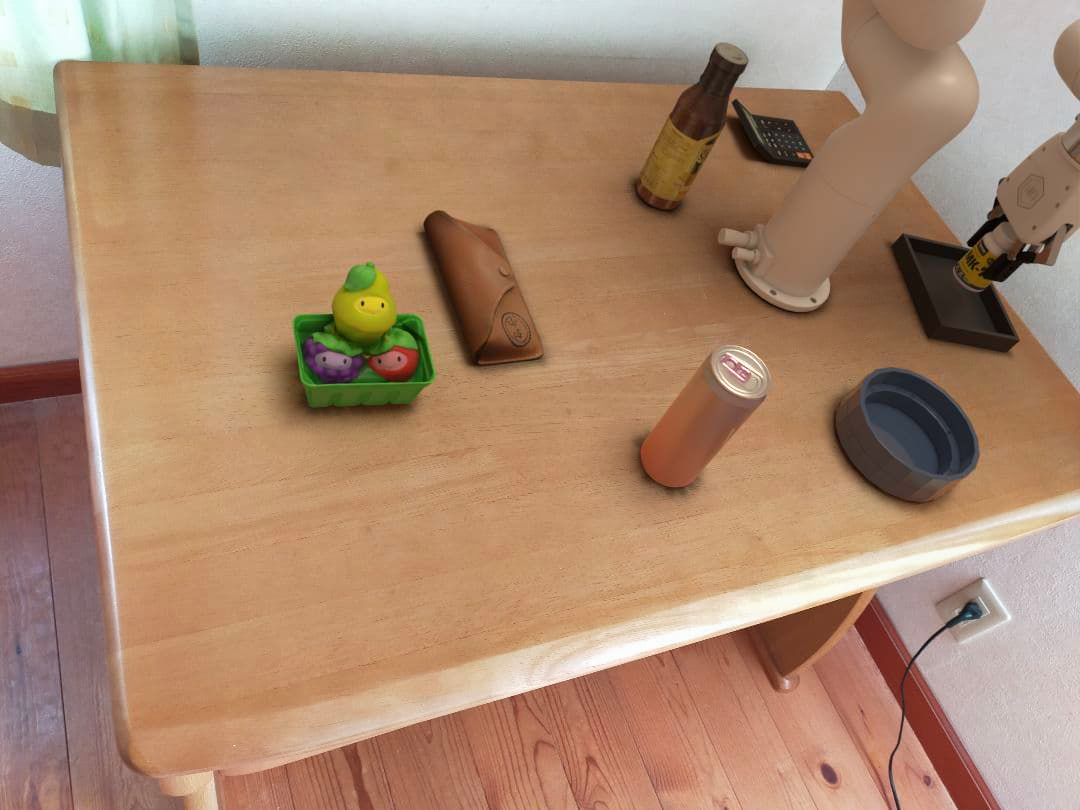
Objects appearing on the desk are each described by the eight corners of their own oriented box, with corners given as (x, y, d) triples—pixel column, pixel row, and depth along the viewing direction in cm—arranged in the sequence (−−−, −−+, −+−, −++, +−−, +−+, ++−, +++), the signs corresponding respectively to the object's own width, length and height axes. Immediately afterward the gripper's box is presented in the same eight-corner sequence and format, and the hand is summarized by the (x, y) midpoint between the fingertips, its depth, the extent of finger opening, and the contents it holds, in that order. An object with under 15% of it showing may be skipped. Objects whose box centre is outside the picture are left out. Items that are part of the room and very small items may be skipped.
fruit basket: (295, 421, 74) (310, 338, 66) (284, 339, 79) (296, 251, 70) (425, 415, 79) (455, 337, 70) (408, 338, 84) (434, 255, 75)
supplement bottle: (944, 268, 113) (990, 221, 107) (966, 263, 116) (1012, 216, 109) (968, 296, 112) (1016, 249, 105) (990, 290, 114) (1038, 244, 107)
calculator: (814, 168, 125) (826, 151, 122) (746, 160, 120) (757, 142, 118) (790, 125, 130) (801, 108, 127) (723, 115, 125) (733, 98, 123)
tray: (1006, 352, 113) (1020, 340, 112) (928, 337, 110) (941, 325, 108) (964, 262, 123) (976, 249, 121) (891, 246, 119) (902, 232, 117)
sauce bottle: (677, 219, 108) (758, 82, 92) (630, 200, 107) (704, 58, 92) (682, 187, 112) (760, 51, 97) (637, 169, 111) (708, 28, 96)
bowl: (853, 496, 90) (882, 471, 86) (819, 385, 98) (845, 358, 94) (965, 510, 94) (998, 487, 90) (924, 402, 102) (952, 377, 98)
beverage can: (658, 427, 87) (730, 331, 76) (705, 467, 86) (785, 376, 75) (626, 459, 83) (696, 364, 72) (674, 502, 82) (753, 412, 71)
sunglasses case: (551, 355, 87) (538, 321, 81) (486, 383, 87) (468, 350, 81) (493, 225, 96) (478, 185, 90) (434, 250, 96) (415, 212, 90)
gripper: (1040, 94, 101) (937, 211, 115) (1103, 194, 91) (983, 308, 105) (1091, 109, 103) (984, 222, 117) (1158, 208, 93) (1032, 318, 107)
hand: (984, 261), depth 111 cm, fingers closed on supplement bottle, 4 cm apart
